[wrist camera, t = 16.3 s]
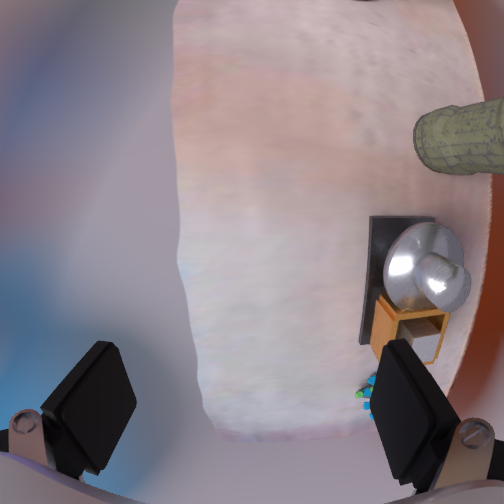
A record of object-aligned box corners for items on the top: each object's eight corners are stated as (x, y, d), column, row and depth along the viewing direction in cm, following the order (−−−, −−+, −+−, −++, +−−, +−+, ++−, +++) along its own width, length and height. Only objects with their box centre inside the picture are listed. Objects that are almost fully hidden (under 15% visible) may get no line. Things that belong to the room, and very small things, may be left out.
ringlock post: (366, 212, 35) (416, 236, 21) (434, 213, 34) (497, 235, 21) (353, 353, 41) (378, 416, 27) (413, 345, 40) (450, 399, 26)
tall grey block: (385, 301, 37) (413, 338, 27) (408, 299, 37) (440, 333, 27) (381, 326, 38) (406, 365, 28) (404, 323, 38) (432, 360, 28)
